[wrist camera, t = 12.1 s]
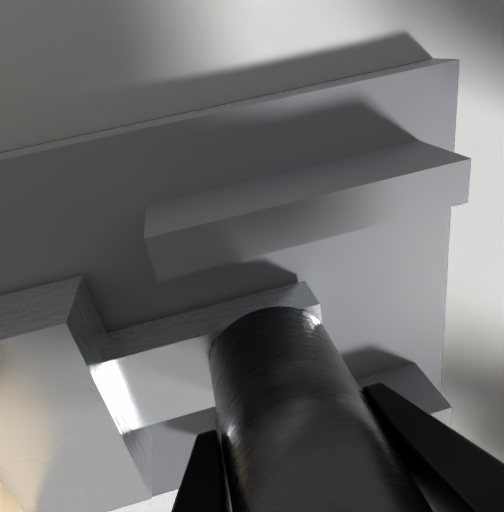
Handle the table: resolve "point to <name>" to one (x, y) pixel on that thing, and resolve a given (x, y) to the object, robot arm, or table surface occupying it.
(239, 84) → the table surface
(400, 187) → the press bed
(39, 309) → the ram
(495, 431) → the table surface
